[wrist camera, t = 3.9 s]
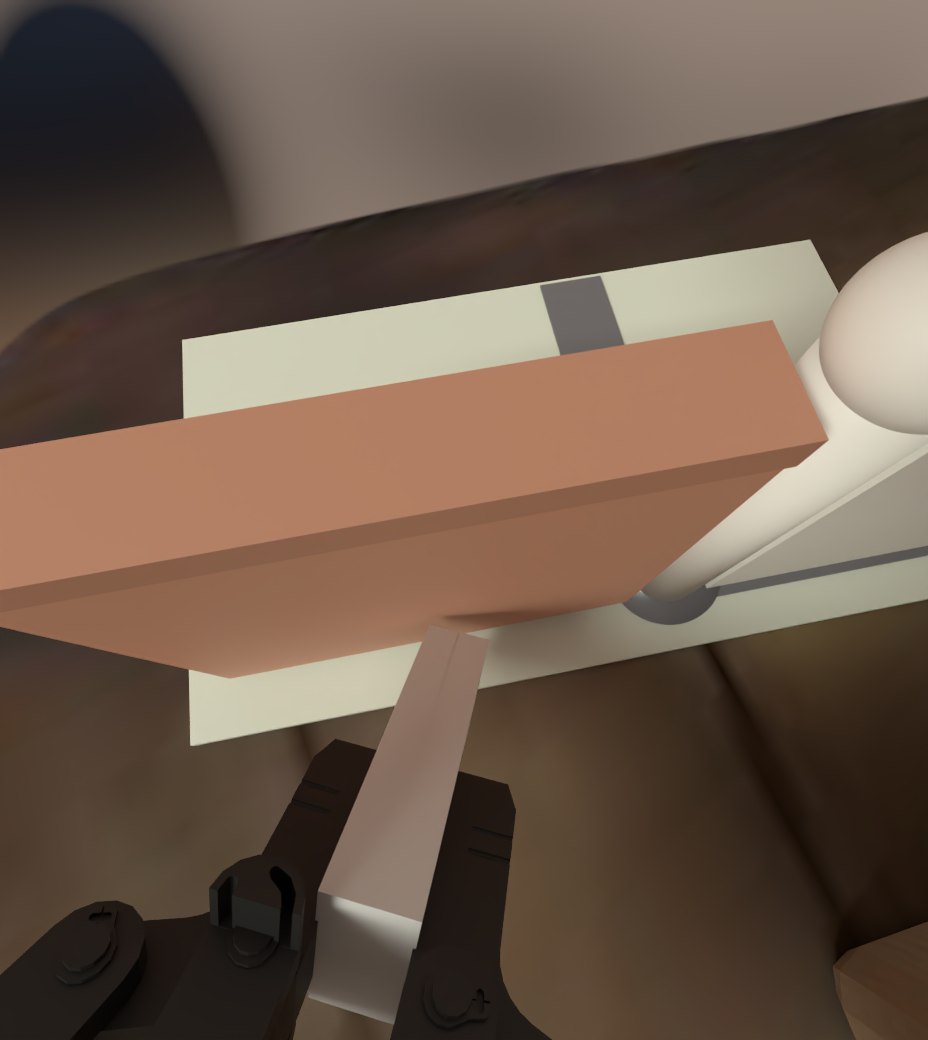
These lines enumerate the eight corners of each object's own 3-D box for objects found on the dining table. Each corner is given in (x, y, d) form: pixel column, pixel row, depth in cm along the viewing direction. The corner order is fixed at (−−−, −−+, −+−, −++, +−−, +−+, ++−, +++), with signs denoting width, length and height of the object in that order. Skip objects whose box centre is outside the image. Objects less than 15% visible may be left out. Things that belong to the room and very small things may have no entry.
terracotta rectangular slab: (609, 543, 18) (772, 320, 8) (627, 605, 17) (828, 440, 8) (227, 615, 17) (-86, 463, 8) (229, 682, 17) (-110, 610, 7)
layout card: (804, 247, 23) (811, 237, 23) (983, 588, 18) (996, 584, 18) (187, 346, 22) (180, 338, 21) (196, 745, 17) (188, 745, 16)
